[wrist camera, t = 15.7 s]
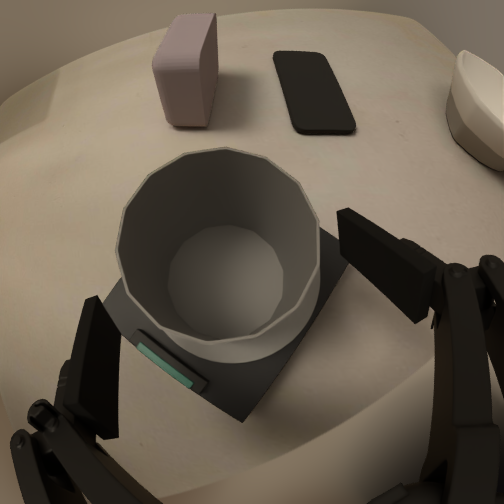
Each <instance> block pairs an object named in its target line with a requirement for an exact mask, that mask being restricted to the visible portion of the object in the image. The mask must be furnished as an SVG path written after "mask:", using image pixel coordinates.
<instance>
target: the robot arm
mask: <svg viewBox="0 0 504 504" xmlns="http://www.w3.org/2000/svg"><path fill="white" fill-rule="evenodd" d="M337 221H338V232H339V244H340V255H341V256H342V257H343V258H345V259H346V260H347V261H348V262H349V263H350V264H351V265H352V266H354V267H355V268H356V269H357V270H358V271H359V272H360V273H361V274H362V275H363V276H365V277H366V278H367V279H368V280H369V281H370V282H371V283H372V284H373V285H374V286H375V287H377V288H378V289H379V290H380V291H381V292H382V293H383V294H384V295H385V296H386V297H387V298H388V299H389V300H390V301H391V302H392V303H394V304H395V305H396V306H397V307H398V308H399V309H400V310H401V311H402V312H403V313H404V314H405V315H406V316H407V317H408V318H409V319H410V320H411V321H412V322H413V323H414V324H416V323H418V322H420V321H421V320H423V319H424V318H426V317H427V316H428V311H429V307H431V308H432V309H433V310H434V311H435V312H434V316H433V320H432V324H431V329H433V326H434V342H435V373H434V397H433V412H432V422H431V431H430V439H429V446H428V453H427V457H426V459H425V462H424V464H423V467H422V470H421V474H420V479H419V482H417V483H412V484H407V485H404V486H403V485H402V483H400V484H398V485H397V486H395V487H393V488H392V489H390V490H388V491H387V492H385V493H383V494H381V495H379V496H378V497H376V498H374V499H372V500H371V501H370V502H368V503H367V504H504V493H497V492H496V491H497V482H498V473H499V459H500V429H499V427H498V425H495V424H493V421H492V399H491V383H490V372H489V363H488V355H489V357H490V360H491V363H492V365H493V368H494V371H495V374H496V377H497V380H498V383H499V386H500V388H501V392H502V395H503V398H504V263H503V261H502V260H501V259H500V258H498V257H496V256H494V255H484V256H482V257H481V258H480V262H479V266H477V267H473V268H469V269H468V268H467V267H466V266H464V265H462V264H458V263H450V264H446V263H444V262H443V261H441V260H440V259H439V258H437V257H436V256H434V255H433V254H431V253H430V252H428V251H426V250H425V249H424V248H422V247H420V246H419V245H418V244H416V243H415V242H413V241H411V240H407V239H404V238H402V239H400V240H399V239H397V238H396V237H394V236H393V235H391V234H390V233H388V232H387V231H385V230H384V229H382V228H381V227H379V226H377V225H376V224H374V223H373V222H371V221H370V220H368V219H366V218H365V217H363V216H362V215H360V214H358V213H357V212H355V211H353V210H352V209H350V208H345V209H342V210H339V211H337ZM494 300H495V302H494ZM495 303H496V304H495ZM120 344H121V332H120V331H119V329H118V328H117V326H116V325H115V323H114V321H113V320H112V318H111V317H110V315H109V314H108V312H107V310H106V309H105V307H104V305H103V304H102V302H101V300H100V299H99V297H98V295H96V296H93V297H91V298H88V299H85V302H84V306H83V309H82V313H81V317H80V321H79V325H78V328H77V333H76V337H75V341H74V345H73V350H72V354H71V359H70V360H66V361H65V363H64V364H63V366H62V368H61V370H60V375H59V380H58V385H57V386H58V388H57V390H56V396H55V402H54V406H52V405H51V404H50V403H49V402H48V401H47V400H46V399H40V400H37V401H36V402H35V403H33V404H32V406H31V407H30V409H29V411H28V415H27V420H28V423H29V424H30V425H32V426H33V427H34V428H35V429H37V430H38V431H37V432H35V433H33V434H29V433H28V432H27V431H26V430H24V429H20V430H17V431H16V432H15V433H14V434H13V436H12V438H11V441H10V449H11V454H12V459H13V463H14V467H15V471H16V475H17V479H18V483H19V486H20V490H21V493H22V497H23V500H24V503H25V504H87V502H86V500H85V498H84V496H83V494H84V495H85V496H86V497H87V499H88V500H89V501H90V502H91V503H92V504H163V503H162V502H160V501H159V500H158V499H157V498H156V497H154V496H153V495H152V494H151V493H150V492H148V491H147V490H146V489H145V488H144V487H143V486H141V485H140V484H139V483H138V482H137V481H136V480H135V479H134V478H133V477H132V476H131V475H129V474H128V473H127V472H126V471H125V470H124V469H123V468H122V467H121V466H120V465H119V464H118V463H117V462H116V461H115V460H114V459H113V458H112V457H111V456H110V455H109V454H108V453H107V452H106V451H105V449H104V448H103V447H102V446H101V445H100V444H98V443H97V442H96V434H97V435H98V436H99V437H101V438H102V439H103V440H108V439H114V438H119V425H118V388H119V360H120ZM487 352H488V355H487ZM81 491H82V492H83V494H82V492H81Z"/></svg>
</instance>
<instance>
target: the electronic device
mask: <svg viewBox="0 0 504 504" xmlns="http://www.w3.org/2000/svg"><path fill="white" fill-rule="evenodd" d="M152 69H153V73H154V77H155V81H156V84H157V88H158V92H159V96H160V99H161V103H162V106H163V110H164V113H165V117H166V120H167V121H168V123H169V124H171V125H173V126H208V122H209V118H210V113H211V108H212V103H213V98H214V93H215V89H216V84H217V79H218V45H217V19H216V13H198V14H182V15H179V16H177V17H176V18H175V19H174V20H173V21H172V23H171V25H170V27H169V28H168V30H167V32H166V34H165V36H164V38H163V39H162V41H161V43H160V45H159V47H158V49H157V51H156V53H155V55H154V57H153V60H152Z"/></svg>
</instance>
